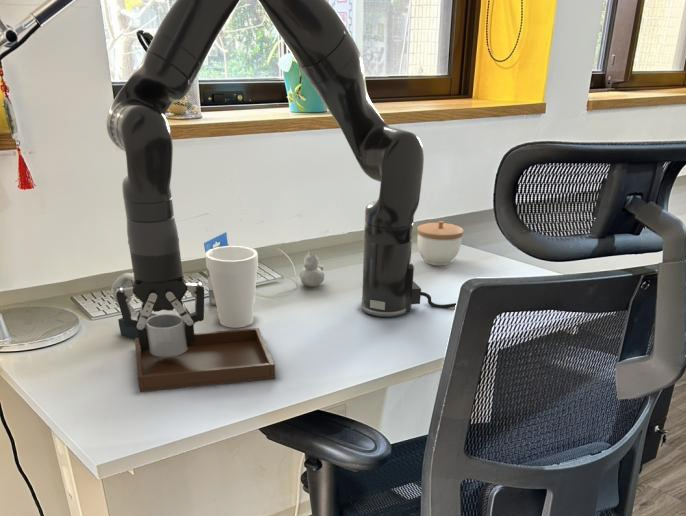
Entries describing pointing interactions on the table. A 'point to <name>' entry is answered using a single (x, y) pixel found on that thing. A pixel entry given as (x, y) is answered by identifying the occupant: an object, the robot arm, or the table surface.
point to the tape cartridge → (208, 246)
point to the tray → (207, 362)
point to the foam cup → (233, 283)
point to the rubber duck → (312, 271)
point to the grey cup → (166, 335)
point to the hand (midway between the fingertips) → (168, 346)
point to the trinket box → (439, 242)
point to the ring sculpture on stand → (125, 282)
